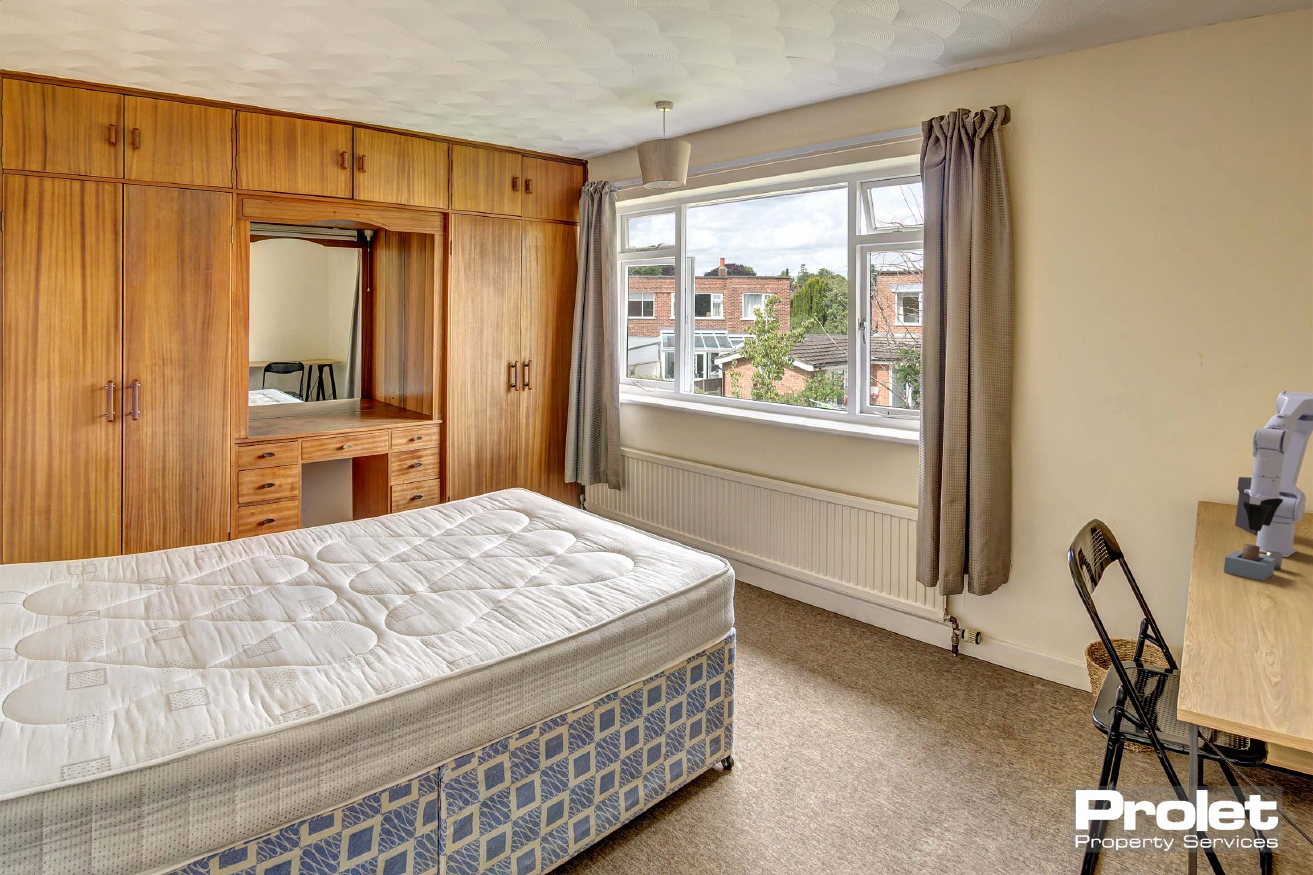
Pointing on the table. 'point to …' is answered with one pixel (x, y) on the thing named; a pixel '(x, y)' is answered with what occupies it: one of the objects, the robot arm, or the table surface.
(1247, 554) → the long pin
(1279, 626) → the table surface
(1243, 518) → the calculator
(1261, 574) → the hole block
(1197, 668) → the table surface
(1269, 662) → the table surface
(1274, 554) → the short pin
